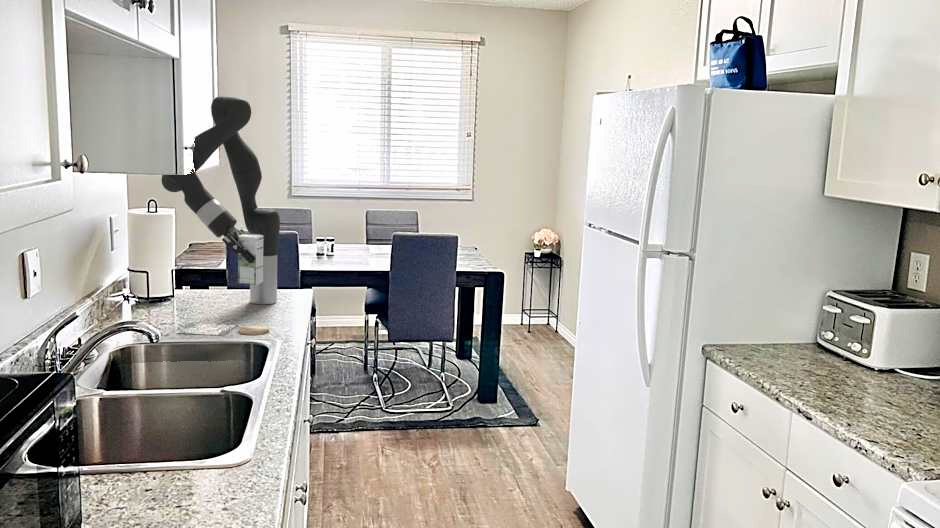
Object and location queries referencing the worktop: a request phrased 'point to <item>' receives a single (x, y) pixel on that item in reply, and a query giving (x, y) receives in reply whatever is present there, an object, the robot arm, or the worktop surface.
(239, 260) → the syrup box
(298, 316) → the worktop surface
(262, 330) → the cork coaster
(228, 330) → the plaque
